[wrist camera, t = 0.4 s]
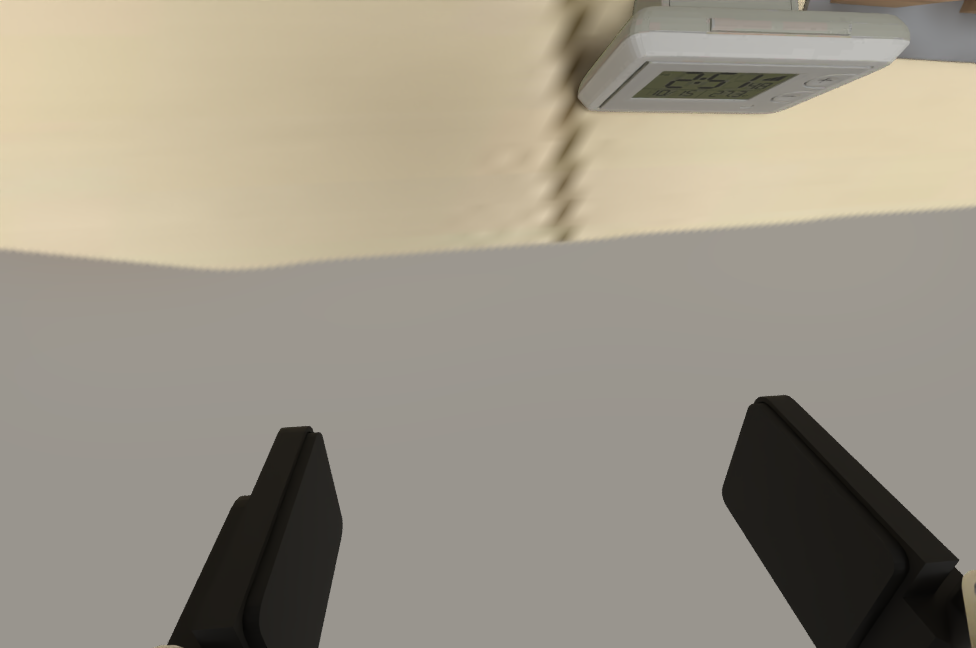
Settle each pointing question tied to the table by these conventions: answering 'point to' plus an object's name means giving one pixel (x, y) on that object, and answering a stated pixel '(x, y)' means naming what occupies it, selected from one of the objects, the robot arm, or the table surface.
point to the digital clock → (736, 56)
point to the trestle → (922, 24)
